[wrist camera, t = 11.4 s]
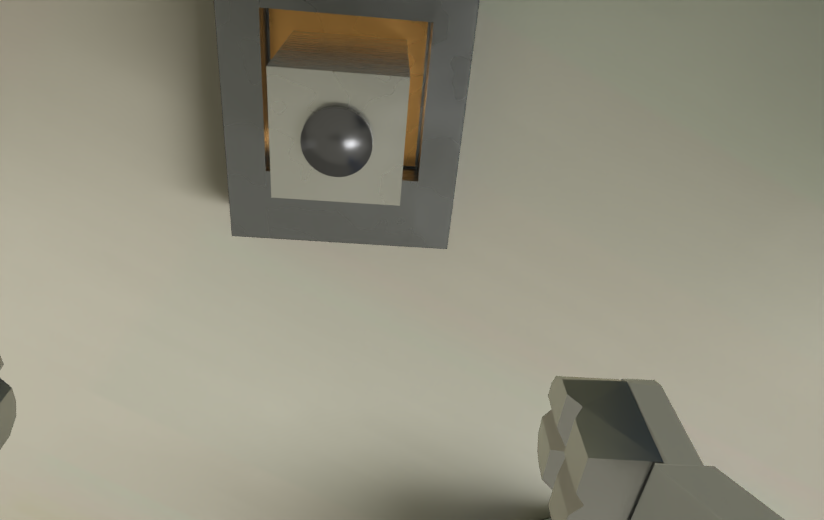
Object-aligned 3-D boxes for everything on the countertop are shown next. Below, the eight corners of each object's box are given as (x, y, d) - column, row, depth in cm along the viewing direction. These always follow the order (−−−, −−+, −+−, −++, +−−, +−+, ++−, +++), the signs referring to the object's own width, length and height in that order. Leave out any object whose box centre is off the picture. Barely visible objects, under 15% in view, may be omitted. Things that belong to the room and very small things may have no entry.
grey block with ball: (406, 39, 23) (410, 80, 18) (399, 147, 25) (400, 209, 20) (293, 30, 22) (264, 68, 17) (295, 139, 25) (269, 201, 20)
